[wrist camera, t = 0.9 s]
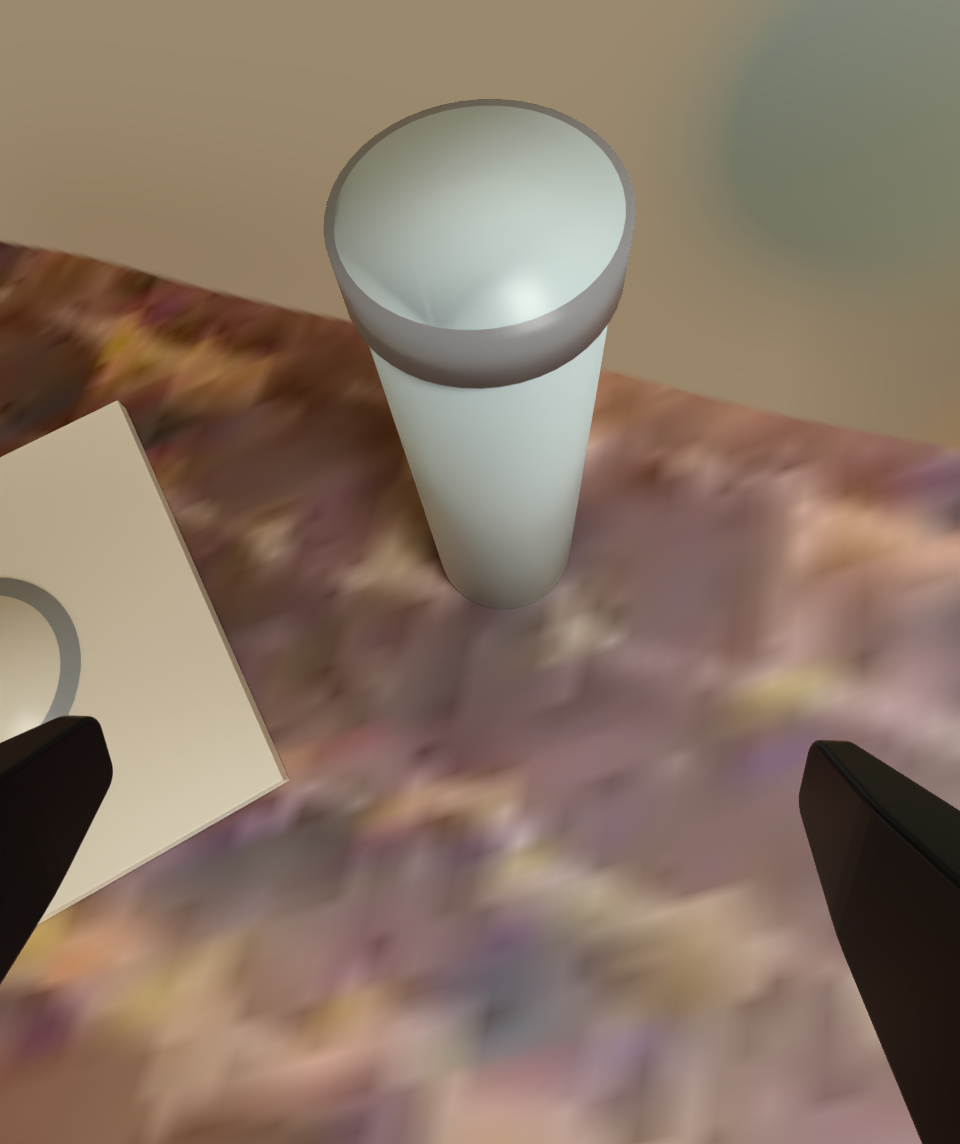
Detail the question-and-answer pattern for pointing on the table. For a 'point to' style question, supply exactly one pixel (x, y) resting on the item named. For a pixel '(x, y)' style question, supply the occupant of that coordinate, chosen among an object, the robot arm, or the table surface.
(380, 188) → the tube
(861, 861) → the robot arm
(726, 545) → the table surface
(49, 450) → the card
